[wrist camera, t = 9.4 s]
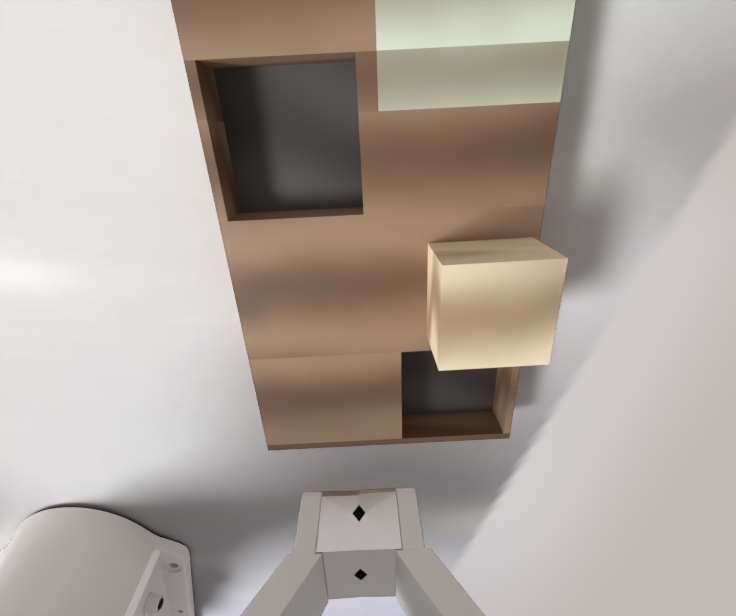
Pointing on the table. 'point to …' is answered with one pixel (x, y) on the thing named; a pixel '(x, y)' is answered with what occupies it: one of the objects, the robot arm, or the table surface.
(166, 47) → the table surface
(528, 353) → the birch block
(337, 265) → the board
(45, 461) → the table surface
